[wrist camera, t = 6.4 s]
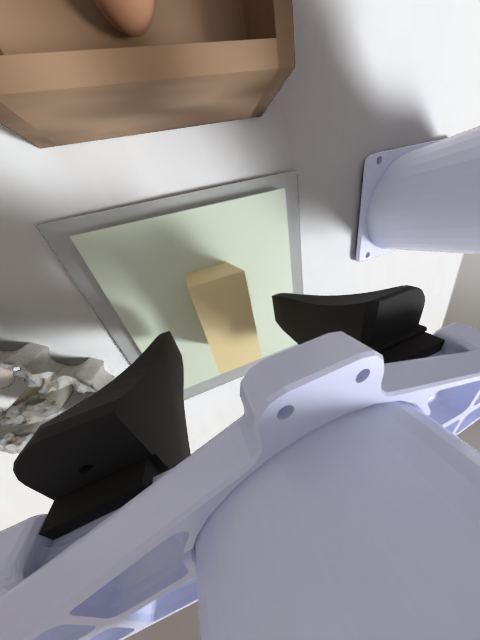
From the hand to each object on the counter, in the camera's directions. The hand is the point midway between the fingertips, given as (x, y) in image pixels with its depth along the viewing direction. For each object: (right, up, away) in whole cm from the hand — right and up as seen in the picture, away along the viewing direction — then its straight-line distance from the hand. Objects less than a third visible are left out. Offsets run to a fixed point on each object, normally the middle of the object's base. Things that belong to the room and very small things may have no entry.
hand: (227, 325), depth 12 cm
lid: (-1, +2, +2) cm, 3 cm away
